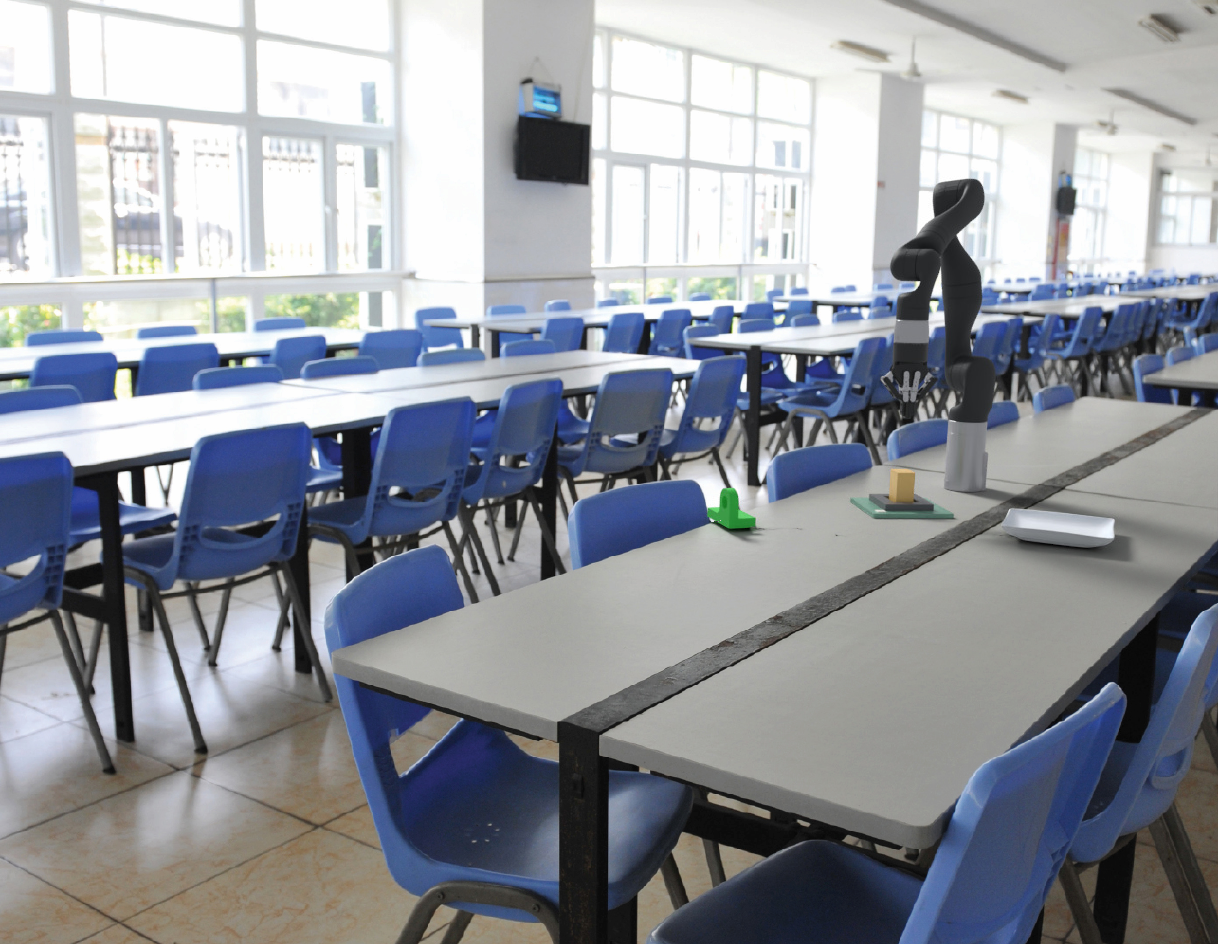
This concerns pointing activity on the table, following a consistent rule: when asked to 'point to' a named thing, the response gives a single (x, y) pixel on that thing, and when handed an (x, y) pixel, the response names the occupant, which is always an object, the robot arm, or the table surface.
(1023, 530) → the salad plate
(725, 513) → the mechanical part
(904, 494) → the amber plug
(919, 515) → the socket board
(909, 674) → the table surface
